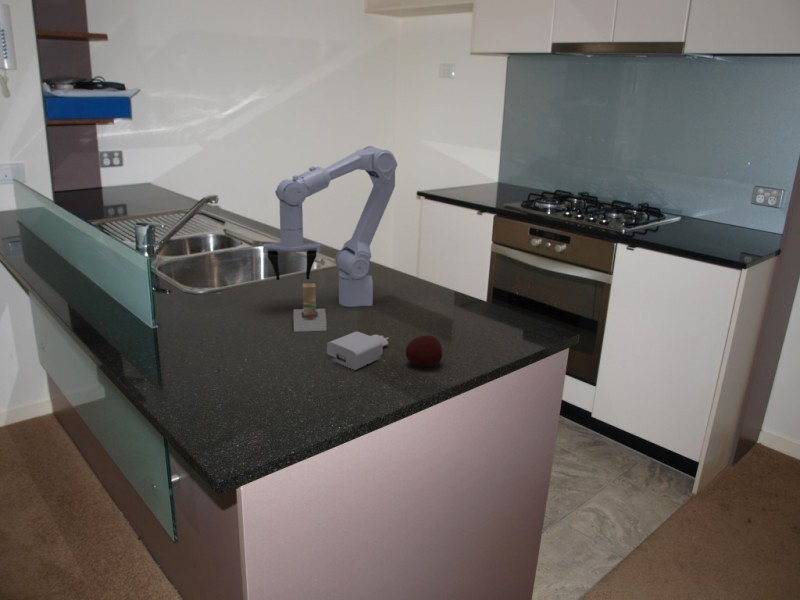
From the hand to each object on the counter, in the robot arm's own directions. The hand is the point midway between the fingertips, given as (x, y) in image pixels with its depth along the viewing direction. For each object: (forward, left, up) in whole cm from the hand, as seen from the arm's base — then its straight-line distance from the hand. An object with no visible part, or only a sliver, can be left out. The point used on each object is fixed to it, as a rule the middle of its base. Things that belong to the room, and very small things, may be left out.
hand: (292, 278), depth 167 cm
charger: (-16, +27, -11) cm, 33 cm away
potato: (-29, +33, -11) cm, 45 cm away
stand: (-4, +10, -10) cm, 15 cm away
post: (-4, +10, -6) cm, 12 cm away
